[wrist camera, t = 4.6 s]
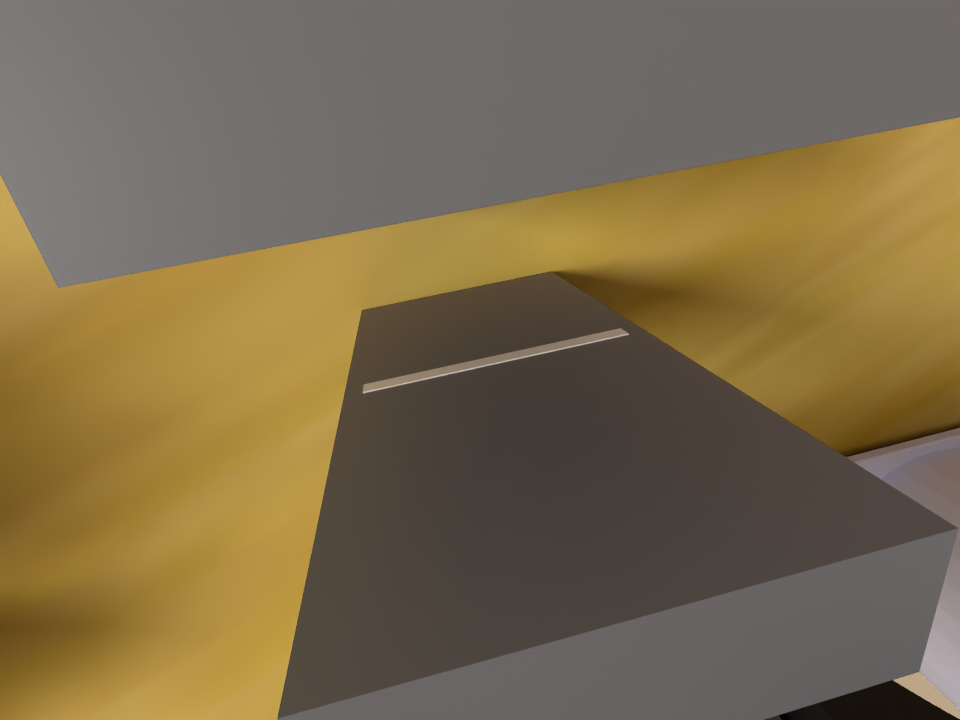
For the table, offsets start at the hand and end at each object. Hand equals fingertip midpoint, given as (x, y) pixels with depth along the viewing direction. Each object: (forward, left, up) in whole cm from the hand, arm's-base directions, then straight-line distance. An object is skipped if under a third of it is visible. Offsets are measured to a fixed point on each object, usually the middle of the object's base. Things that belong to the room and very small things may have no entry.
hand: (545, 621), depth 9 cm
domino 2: (0, -5, -6) cm, 7 cm away
